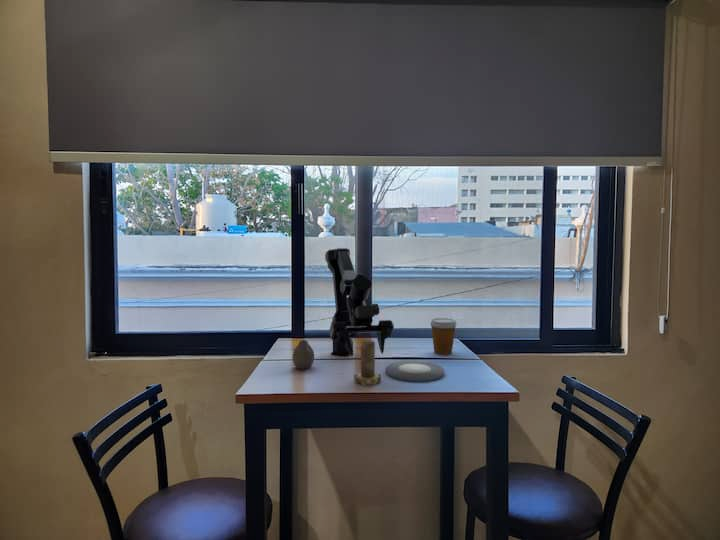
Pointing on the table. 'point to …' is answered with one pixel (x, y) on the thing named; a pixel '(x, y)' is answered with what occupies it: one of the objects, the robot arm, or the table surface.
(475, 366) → the table surface
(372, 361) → the gear
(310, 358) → the vase
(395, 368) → the disc
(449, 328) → the disposable coffee cup
